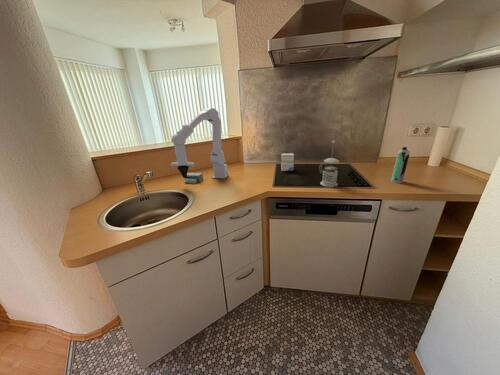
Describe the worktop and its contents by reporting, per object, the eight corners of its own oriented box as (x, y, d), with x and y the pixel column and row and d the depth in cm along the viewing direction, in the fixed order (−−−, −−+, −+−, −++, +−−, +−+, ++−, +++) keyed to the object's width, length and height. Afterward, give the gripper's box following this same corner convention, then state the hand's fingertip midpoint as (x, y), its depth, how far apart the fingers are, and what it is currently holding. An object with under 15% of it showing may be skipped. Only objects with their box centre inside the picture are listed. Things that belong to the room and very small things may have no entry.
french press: (331, 188, 112) (336, 142, 103) (314, 182, 121) (317, 140, 112) (341, 183, 118) (347, 140, 108) (324, 179, 126) (328, 138, 117)
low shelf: (203, 179, 135) (202, 173, 134) (199, 182, 131) (198, 175, 129) (189, 178, 137) (188, 172, 136) (185, 181, 133) (184, 175, 131)
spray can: (404, 183, 115) (413, 147, 107) (393, 182, 116) (401, 147, 109) (399, 179, 120) (408, 146, 112) (389, 179, 121) (397, 146, 113)
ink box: (292, 168, 149) (293, 153, 145) (293, 170, 145) (294, 154, 140) (281, 168, 150) (281, 153, 146) (281, 170, 146) (281, 154, 141)
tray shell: (199, 180, 134) (199, 176, 133) (195, 183, 129) (194, 179, 128) (190, 179, 136) (189, 176, 135) (185, 182, 130) (184, 179, 129)
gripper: (166, 157, 115) (170, 179, 121) (189, 157, 112) (192, 180, 117) (173, 154, 122) (177, 175, 127) (195, 154, 119) (198, 176, 124)
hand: (185, 177), depth 123 cm, fingers closed
